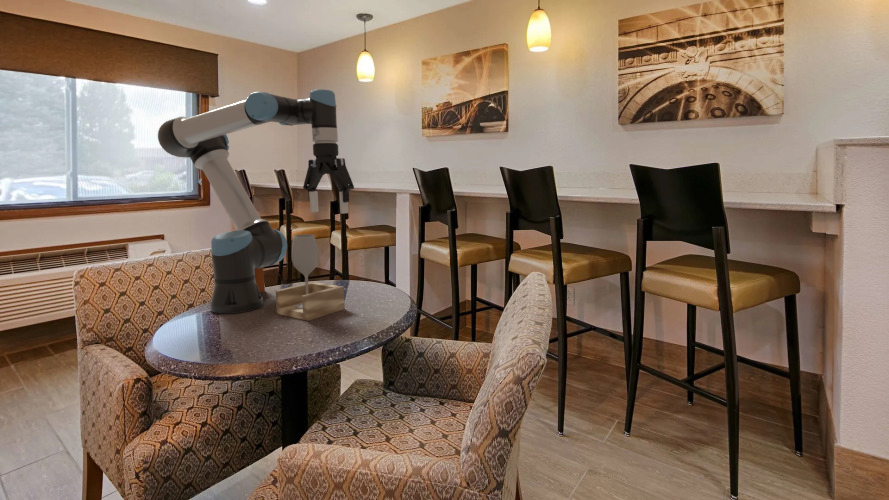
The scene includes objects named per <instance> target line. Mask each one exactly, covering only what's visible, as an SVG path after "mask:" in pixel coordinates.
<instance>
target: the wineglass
mask: <svg viewBox="0 0 889 500" xmlns="http://www.w3.org/2000/svg"><path fill="white" fill-rule="evenodd" d="M291 262H292V265H293V267H294V268H295V269H296V271H298V272H299V273H300V274H302V275H303V276H304V282H305V283H304V284H306V294H309V292H308V283H309V275H310V274H311V273H312V272H313V271H314V270H315V269H316V268H317V266H318V264H319V250H318V245H317V239H316V235H315V234H311V233H310V234H309V233H308V234H304V233H303V234H295V235H293V238H292V245H291ZM295 307H296V308H300V309H303V305H302V303H299V304H297V305H295Z"/></svg>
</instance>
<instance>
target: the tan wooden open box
mask: <svg viewBox="0 0 889 500" xmlns="http://www.w3.org/2000/svg"><path fill="white" fill-rule="evenodd" d="M274 291H275V292H274V293H275V305H276V306H275V307H276V314H277V315H281V316H285V317H290V318H294V319H299V320H303V321H309V322H310V321H312V320H314V319H319V318H321V317H325V316H328V315H331V314H334V313H337V312H340V311H344V310H345V309H346V308H345V307H346V305H345V302H346V301H345V286H342V285H341V286H340V285H336V284H335V285H334V284H328V283H322V282H316V281H310V282H309V281H308V292H309V294H306V284H305V283H302V284H297V285H293V286H290V287H285V288H281V289H277V290H274ZM299 303H302V305H303V309H300V308H296V307H295V305H297V304H299Z"/></svg>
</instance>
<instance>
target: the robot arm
mask: <svg viewBox="0 0 889 500" xmlns="http://www.w3.org/2000/svg"><path fill="white" fill-rule="evenodd" d="M336 103H337V101H336V94H335V92H334V91H333V90H330V89H312V90H310V91H309V97H308V98H299V99H297V98H290V97H286V96H280V95H277V94H272V93H268V92H265V91H255V92H252V93H249V95H248V96H247V97H246V99H245V100H241V101H238V102H236V103H232V104H229V105H225V106H223V107H219V108H217V109H213V110H210V111H206V112H203V113H201V114H197V115H193V116H190V117H186V116H178V117H175V118H172V119H169V120H166V121H165V122H163V123H162V124H161V126H160V127H159V128H158V131H157V140H158V143H159V146H161V148H162V150H164V152H165V153H167V154H169V155H171V156H173V157H176V158H189V159H190V161H191V162H192V163H193V165H194V167H195V168H196V169H198V170H201V171H203V174H205V177H206V178H207V180H208V182H209V184H210V186H211V187H212V189H213V190H214V192H215V194H216V196H217V197H218V200H219V202H220V203H221V205H222V207H223V208H224V210H225V212H226V214H227V215H228V217H229V219H230V221H231V223H232V225H234V228H235V230H231V231H227V232H226V231H225V232H222V233H219V234H217V235H215V236H213V238H212V239H211V241H210V242H211V243H210V244H211V249H210V253H211V258H212V259H211V260H212V270H213V278H214V287H213V292H212V294H211V300H210V303H209V304H210V311H211V312H212V313H216V314H238V313H246V312H249V311H253V310H257V309H259V308H261V307H263V305H264V299H263V296H262V293H260V291H259V289H258V286H257V284H256V282H255V272H254V269H258V268H261V267H263V268H265V267H270V266H273V265H275V264H277V263H279V262H281V261H283V259H284V258H285V256H286V253H287V250H288V243H287V239H286V237H285V235H284V234H283V232H282V231H280V230H277V229H276V228H273V227H272V225H271V224H270V222H269V221H268V219H267V220H266V219H262V218H261V216H260V214H259V213H258V211H257V209H256V208H255V205H254V203H253V202H252V200H251V199H250V197H249V195H248V193H247V191H246V190H245V187H244V186H243V184H242V182H241V180H240V179H239V177H238V175H237V174H236V173H235V170H234V168H233V167H232V166H231V163H230V161H229V160H228V158H229V156H230V152H229V149H230V146H229V144H230V143H229V142H230V141H229V138H228V134H231V133H232V134H233V133H235V132H239V131H242V130H245V129H249V128H253V127H255V126H259V125H263V124H266V123H271V122H272V123H279V124H280V125H281V126H290V127H292V126H297V125H311V133H312V134H311V136H312V142H313V145H312V154H313V157H315V159H308V164H307V165H308V167H307V171H306V175H305V178H304V183H303V185H302V187H303V190H306V191H307V193H308V202H309V207H310V208H309V209H310V211H309V212H310V213H319V211H320V210H319V196H318V194H319V193H318V192H319V191H318V190H317V189H318V186H319V183H321V180H322V178H323V176H325V175H326V174H327V175H328V174H329V175H330V176H331V177H332V178H333V180H334V181H335V183H336V184H337V186H338V188H339V189H340V191H339V212H340V213H339V214H349V210H350V209H349V202H350V191H351V190H353V189H355V185H354V184H353V181H352V177H351V175H350V172H349V171H348V168H347V166H346V159H345V158H343V157H342V158H341V157H340V158H339V157H337V156H339V144H338V142H339V141H338V140H339V137H338V135H339V134H338V124H337V104H336Z"/></svg>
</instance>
